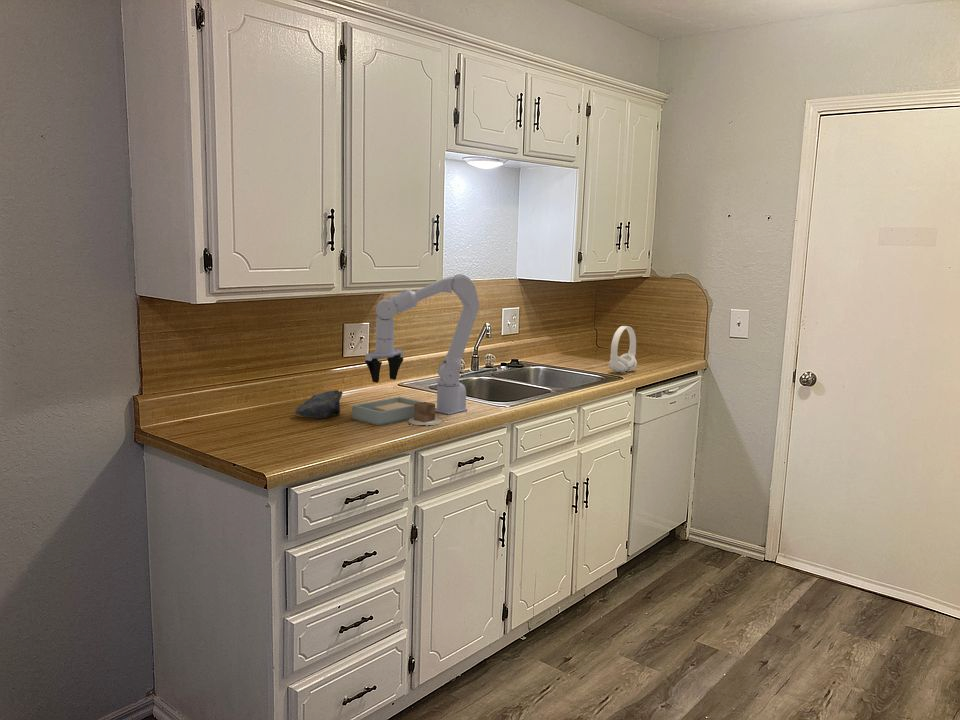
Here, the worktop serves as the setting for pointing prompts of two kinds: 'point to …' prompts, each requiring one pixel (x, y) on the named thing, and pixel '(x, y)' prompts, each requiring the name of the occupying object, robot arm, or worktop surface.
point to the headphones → (625, 360)
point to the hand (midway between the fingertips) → (384, 380)
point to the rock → (321, 405)
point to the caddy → (385, 411)
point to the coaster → (434, 422)
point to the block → (424, 411)
